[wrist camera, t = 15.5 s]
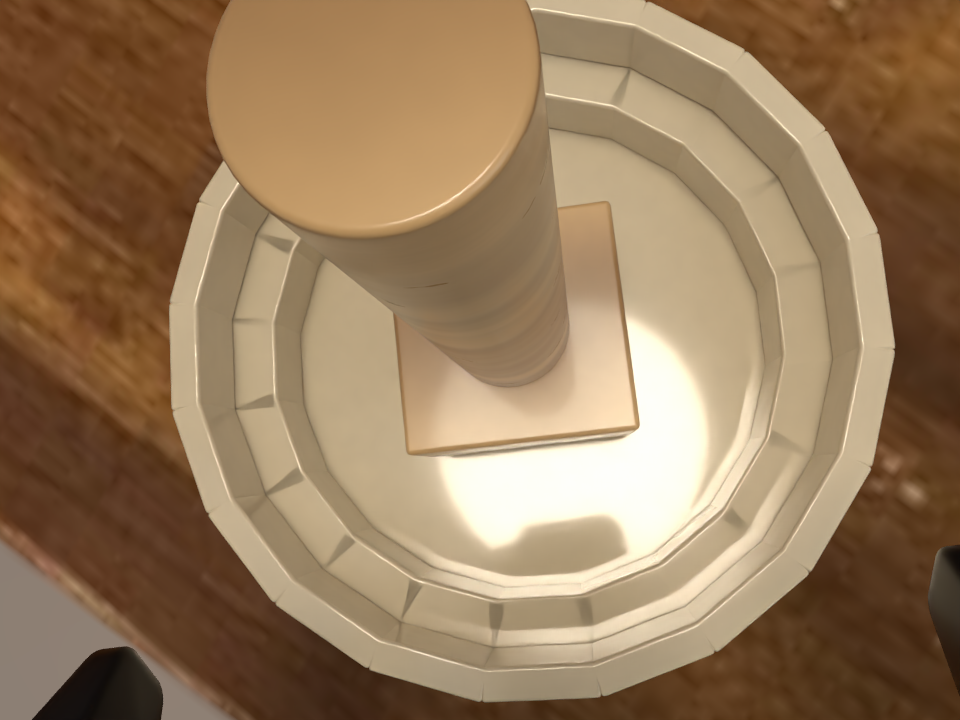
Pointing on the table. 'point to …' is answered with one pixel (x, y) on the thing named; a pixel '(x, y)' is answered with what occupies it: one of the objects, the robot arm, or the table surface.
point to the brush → (435, 206)
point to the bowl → (569, 465)
